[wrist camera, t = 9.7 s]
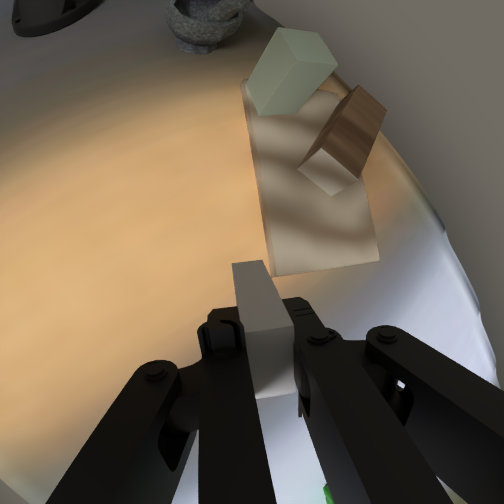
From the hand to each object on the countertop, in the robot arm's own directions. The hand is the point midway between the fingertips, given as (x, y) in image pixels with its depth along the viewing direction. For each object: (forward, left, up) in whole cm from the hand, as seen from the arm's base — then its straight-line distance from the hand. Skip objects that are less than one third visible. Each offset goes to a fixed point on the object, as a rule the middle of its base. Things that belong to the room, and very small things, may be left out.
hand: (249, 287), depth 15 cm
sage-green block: (-22, +10, -13) cm, 27 cm away
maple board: (-13, +14, -14) cm, 24 cm away
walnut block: (-10, +14, -10) cm, 20 cm away
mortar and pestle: (-33, +2, -14) cm, 36 cm away
